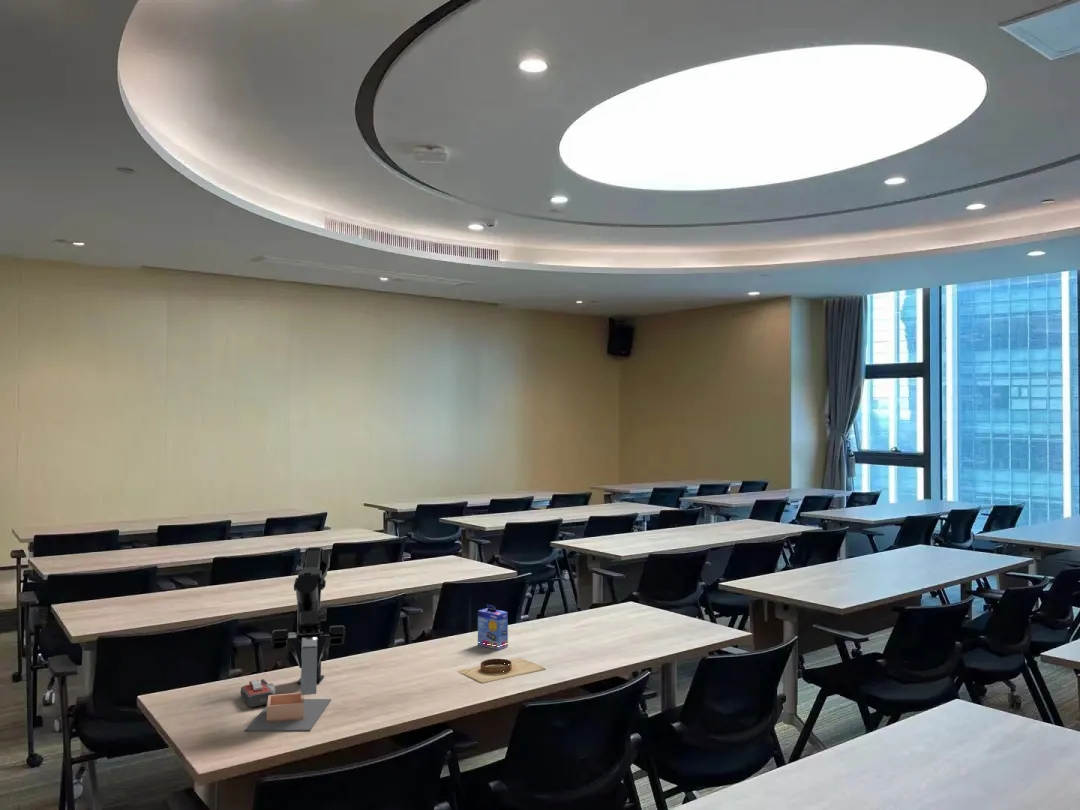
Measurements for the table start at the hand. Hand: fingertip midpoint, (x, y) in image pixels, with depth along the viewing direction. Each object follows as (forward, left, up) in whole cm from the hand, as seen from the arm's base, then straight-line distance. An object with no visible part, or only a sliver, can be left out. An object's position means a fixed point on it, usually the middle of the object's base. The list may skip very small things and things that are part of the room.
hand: (309, 666), depth 201 cm
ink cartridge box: (-68, +46, -13) cm, 83 cm away
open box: (-1, -6, -13) cm, 14 cm away
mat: (-2, -5, -13) cm, 14 cm away
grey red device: (-16, -18, -13) cm, 28 cm away
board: (-40, +49, -14) cm, 65 cm away
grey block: (-1, 0, -7) cm, 7 cm away
